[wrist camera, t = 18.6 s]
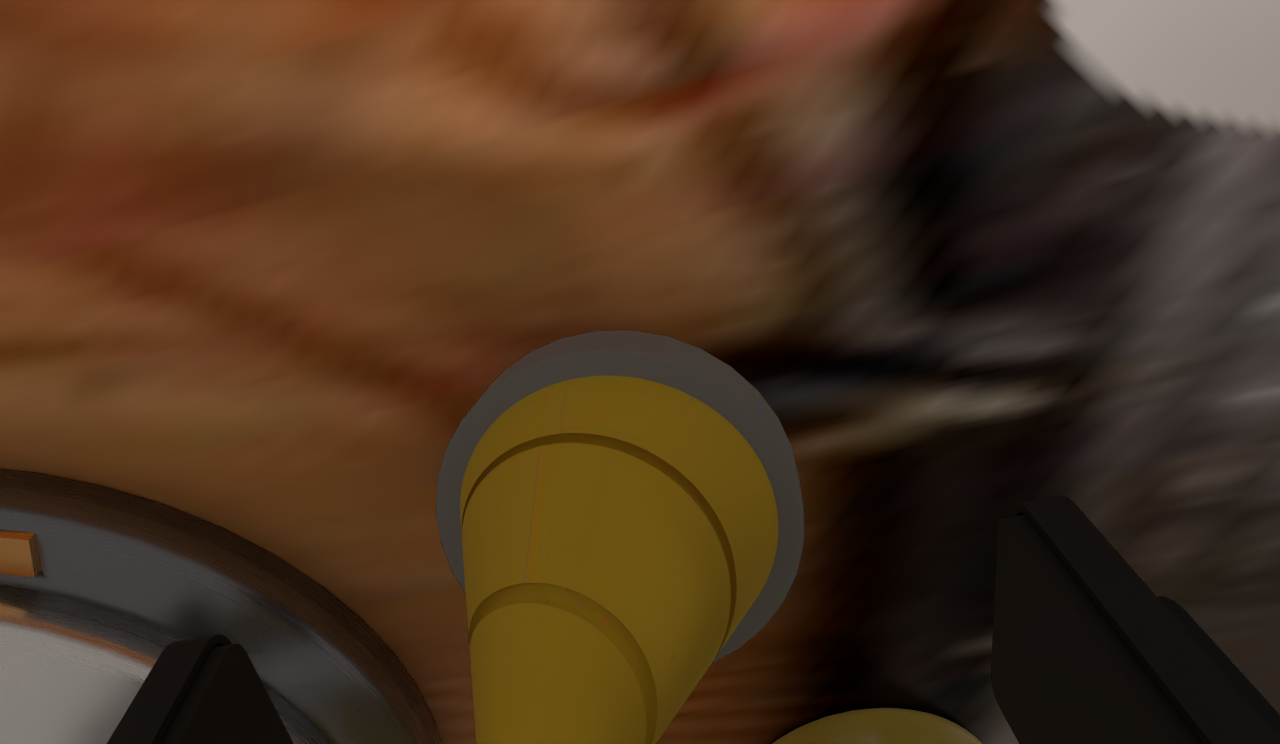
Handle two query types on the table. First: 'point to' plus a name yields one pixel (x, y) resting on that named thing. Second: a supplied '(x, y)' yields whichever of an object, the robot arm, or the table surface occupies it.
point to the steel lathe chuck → (82, 671)
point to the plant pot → (880, 729)
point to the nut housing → (210, 600)
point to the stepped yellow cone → (613, 534)
